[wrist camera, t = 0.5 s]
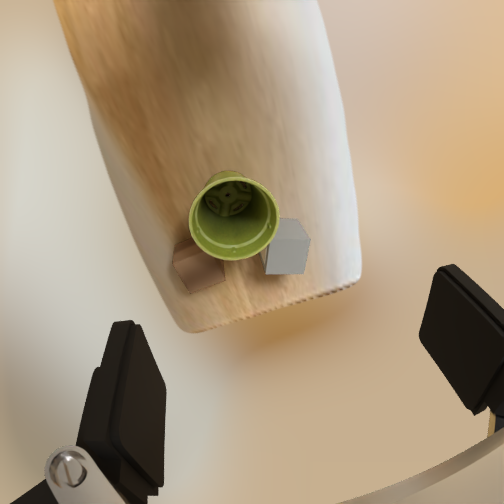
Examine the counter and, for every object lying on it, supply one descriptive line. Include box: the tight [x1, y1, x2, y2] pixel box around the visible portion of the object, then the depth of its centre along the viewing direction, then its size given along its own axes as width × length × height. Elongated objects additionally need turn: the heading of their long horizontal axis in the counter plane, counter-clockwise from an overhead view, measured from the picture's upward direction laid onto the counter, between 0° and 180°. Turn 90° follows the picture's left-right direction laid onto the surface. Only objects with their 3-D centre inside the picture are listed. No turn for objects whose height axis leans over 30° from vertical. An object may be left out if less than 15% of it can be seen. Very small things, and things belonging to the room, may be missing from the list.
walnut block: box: [173, 238, 225, 294], centre depth 42 cm, size 5×5×5 cm
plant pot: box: [189, 171, 280, 260], centre depth 37 cm, size 9×9×9 cm
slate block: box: [259, 218, 311, 274], centre depth 42 cm, size 5×5×6 cm
